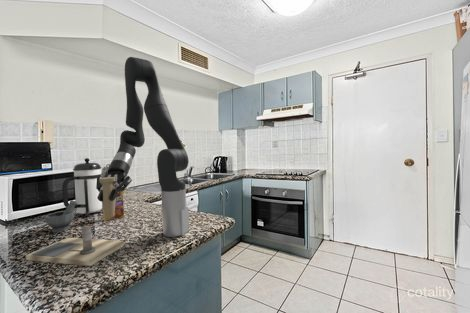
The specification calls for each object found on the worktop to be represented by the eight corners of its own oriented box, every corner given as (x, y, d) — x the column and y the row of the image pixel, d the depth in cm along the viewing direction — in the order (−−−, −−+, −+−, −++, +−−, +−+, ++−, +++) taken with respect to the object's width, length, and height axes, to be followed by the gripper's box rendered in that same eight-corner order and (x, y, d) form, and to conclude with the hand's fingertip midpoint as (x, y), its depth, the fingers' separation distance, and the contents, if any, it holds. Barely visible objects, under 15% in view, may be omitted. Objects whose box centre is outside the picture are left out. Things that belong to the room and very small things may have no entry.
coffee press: (77, 211, 125) (73, 158, 124) (109, 208, 130) (106, 157, 129) (63, 221, 109) (59, 159, 108) (100, 217, 114) (97, 158, 113)
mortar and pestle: (46, 235, 90) (44, 206, 90) (46, 229, 97) (44, 202, 97) (80, 228, 97) (78, 201, 97) (77, 223, 105) (76, 198, 104)
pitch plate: (124, 245, 79) (122, 218, 78) (91, 265, 65) (89, 233, 65) (67, 241, 84) (66, 216, 83) (26, 260, 70) (23, 230, 70)
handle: (114, 214, 89) (111, 176, 89) (119, 217, 85) (116, 177, 84) (100, 217, 86) (97, 178, 85) (105, 220, 81) (102, 179, 81)
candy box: (103, 221, 106) (101, 189, 106) (103, 219, 110) (101, 188, 109) (124, 217, 111) (122, 187, 111) (123, 215, 115) (121, 186, 114)
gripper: (100, 160, 92) (81, 195, 81) (133, 158, 92) (119, 193, 80) (108, 171, 98) (92, 206, 86) (140, 169, 97) (128, 204, 86)
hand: (105, 199), depth 83 cm, fingers closed on handle, 3 cm apart
